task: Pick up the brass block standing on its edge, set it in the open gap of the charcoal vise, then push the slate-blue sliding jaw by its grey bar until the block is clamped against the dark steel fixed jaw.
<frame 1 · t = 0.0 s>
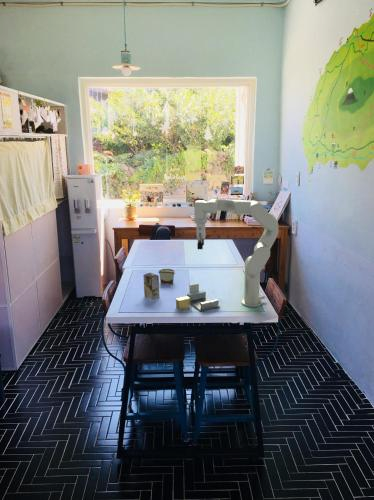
hand: (200, 247, 261), 37 cm above the table, tool pointing down, fingers open, 9 cm apart
vise: (204, 305, 266), on the table
block: (183, 308, 261), on the table
coffee box: (151, 297, 280), on the table
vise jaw: (195, 291, 274), point 6 cm above the table, slide at 0.0 cm
food container: (168, 282, 308), on the table
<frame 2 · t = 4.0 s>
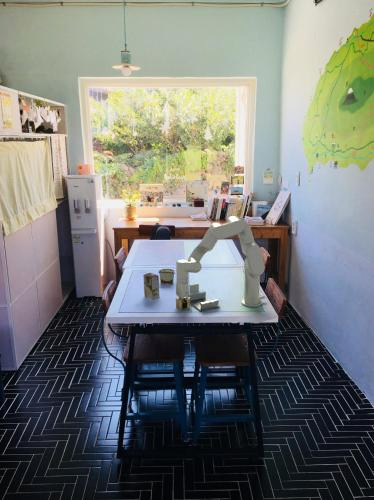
hand: (183, 306, 261), 1 cm above the table, tool pointing down, fingers closed on block, 4 cm apart
block: (183, 308, 261), on the table, touching gripper
everything else where it was.
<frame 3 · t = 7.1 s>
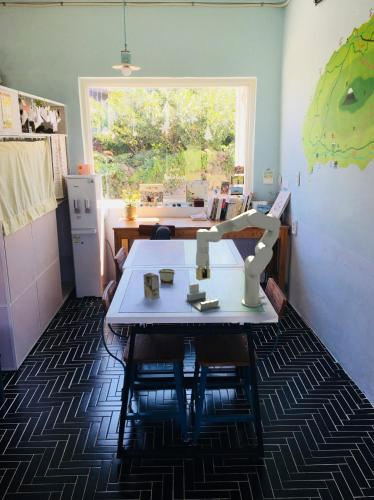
hand: (203, 276, 262), 19 cm above the table, tool pointing down, fingers closed on block, 4 cm apart
block: (203, 278, 262), point 18 cm above the table, touching gripper
everything else where it was.
when the fingers open (4 cm above the table, at t = 10.3 s): block drops 1 cm, resting on vise.
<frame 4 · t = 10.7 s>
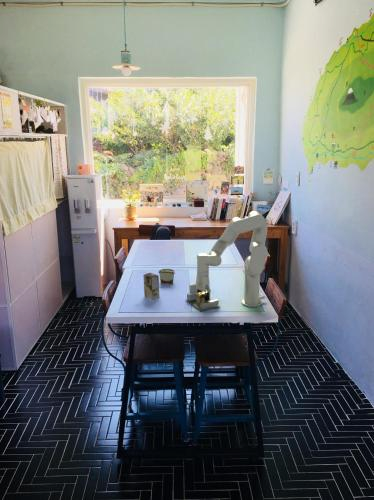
hand: (203, 298, 266), 4 cm above the table, tool pointing down, fingers open, 8 cm apart
block: (203, 303, 266), point 1 cm above the table, touching vise
everything else where it was.
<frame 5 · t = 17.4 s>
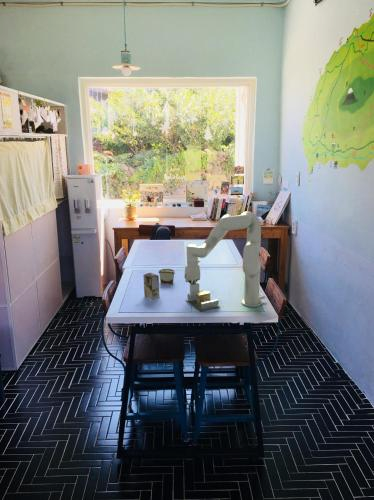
hand: (192, 289, 277), 6 cm above the table, tool pointing down, fingers closed
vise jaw: (196, 291, 273), point 6 cm above the table, slide at 0.7 cm, touching gripper
everything else where it was.
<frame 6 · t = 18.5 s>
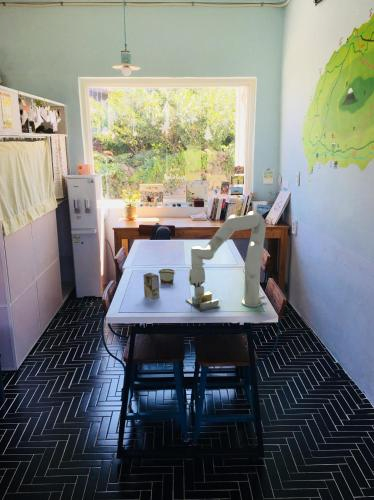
hand: (197, 292, 272), 6 cm above the table, tool pointing down, fingers closed
block: (204, 304, 265), point 1 cm above the table
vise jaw: (200, 294, 268), point 6 cm above the table, slide at 6.9 cm, touching gripper
everything else where it was.
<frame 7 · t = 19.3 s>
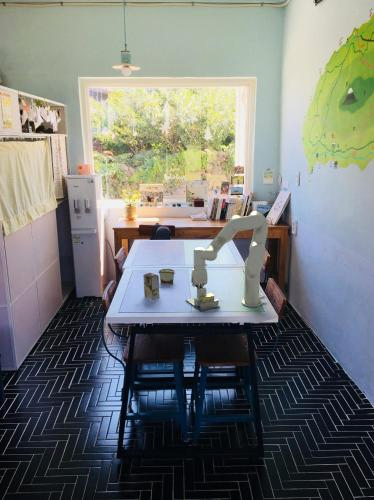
hand: (199, 293, 269), 6 cm above the table, tool pointing down, fingers closed
block: (207, 305, 262), point 1 cm above the table, touching vise, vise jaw
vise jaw: (203, 296, 265), point 6 cm above the table, slide at 10.0 cm, touching block, gripper
everything else where it was.
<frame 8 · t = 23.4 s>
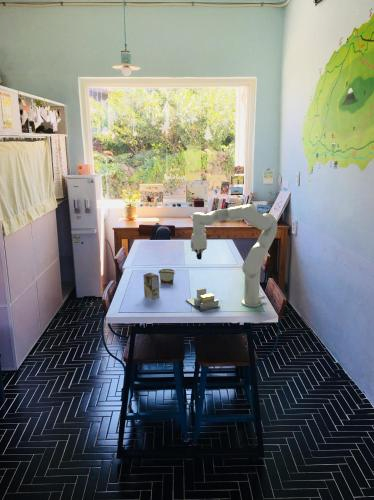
hand: (199, 258, 272), 27 cm above the table, tool pointing down, fingers closed
block: (207, 305, 262), point 1 cm above the table, touching vise
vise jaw: (203, 296, 265), point 6 cm above the table, slide at 9.9 cm
everything else where it was.
at the end: block 0.1 cm from the target spot on the vise, point 1.0 cm above the vise's base; block tilted 0°; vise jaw slide at 9.9 cm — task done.
